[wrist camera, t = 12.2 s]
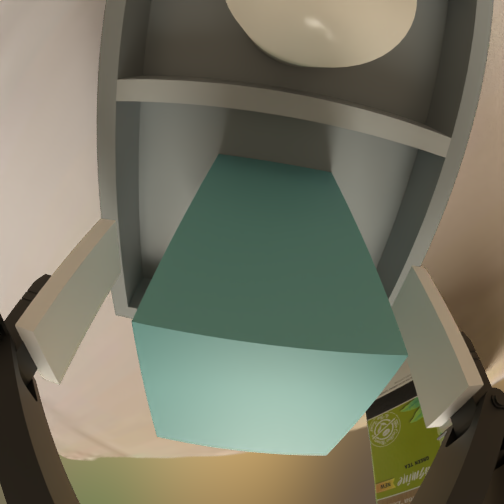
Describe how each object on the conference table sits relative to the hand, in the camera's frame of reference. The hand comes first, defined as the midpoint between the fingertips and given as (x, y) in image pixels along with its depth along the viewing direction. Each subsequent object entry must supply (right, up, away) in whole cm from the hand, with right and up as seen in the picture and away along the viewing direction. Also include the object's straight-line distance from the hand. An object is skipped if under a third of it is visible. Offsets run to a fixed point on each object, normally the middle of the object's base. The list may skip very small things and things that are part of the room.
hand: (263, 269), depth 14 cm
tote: (+1, +7, +3) cm, 8 cm away
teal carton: (0, +3, +4) cm, 5 cm away
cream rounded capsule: (+2, +12, -2) cm, 12 cm away
